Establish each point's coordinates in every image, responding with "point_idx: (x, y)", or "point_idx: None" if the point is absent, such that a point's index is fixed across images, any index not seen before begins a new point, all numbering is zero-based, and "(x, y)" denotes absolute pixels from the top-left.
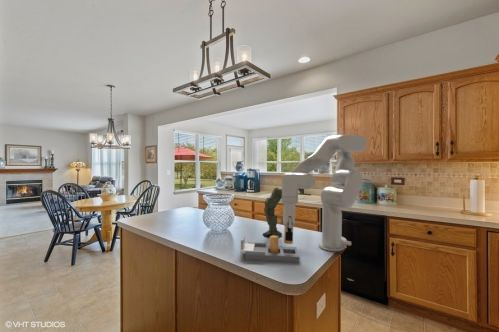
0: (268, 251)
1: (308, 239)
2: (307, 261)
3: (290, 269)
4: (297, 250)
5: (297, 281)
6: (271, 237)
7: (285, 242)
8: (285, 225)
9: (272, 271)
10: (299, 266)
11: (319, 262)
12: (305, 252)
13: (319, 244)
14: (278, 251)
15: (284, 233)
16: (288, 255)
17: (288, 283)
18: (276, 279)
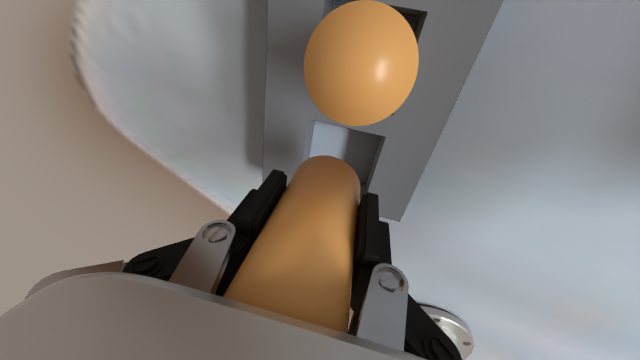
0: (421, 15)
1: (561, 318)
2: None
3: (199, 110)
4: None
5: (110, 108)
6: (329, 21)
7: (304, 162)
8: (240, 292)
9: (153, 2)
10: (235, 159)
11: None
12: None
13: (439, 317)
14: None
15: (305, 201)
16: (275, 139)
17: (79, 65)
18: (84, 11)
